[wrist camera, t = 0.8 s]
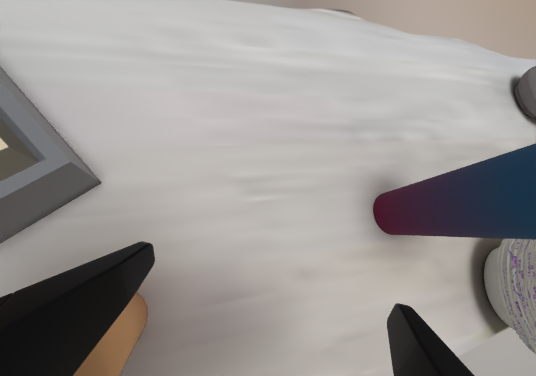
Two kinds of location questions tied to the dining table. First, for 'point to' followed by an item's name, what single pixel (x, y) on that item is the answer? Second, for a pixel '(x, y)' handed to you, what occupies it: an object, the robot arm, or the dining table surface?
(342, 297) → the dining table surface
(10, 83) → the socket tray
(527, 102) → the grey tied sack
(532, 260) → the paper bowls
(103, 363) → the peg
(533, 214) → the cup
